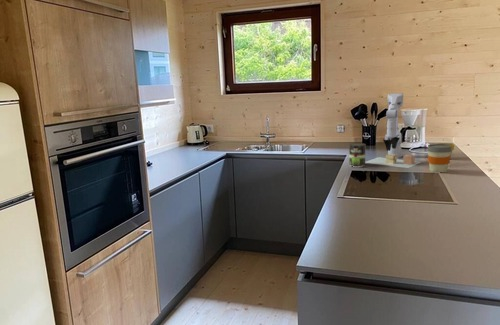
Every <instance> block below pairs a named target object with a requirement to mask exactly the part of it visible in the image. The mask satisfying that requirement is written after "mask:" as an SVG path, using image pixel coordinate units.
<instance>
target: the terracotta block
mask: <svg viewBox="0 0 500 325" xmlns="http://www.w3.org/2000/svg"><path fill="white" fill-rule="evenodd" d="M402 158H403V159H402V160H403V164H413V163H414V162H415V161H416V160H415V155H414V154H406V155H402Z"/></svg>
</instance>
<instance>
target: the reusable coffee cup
mask: <svg viewBox="0 0 500 325" xmlns="http://www.w3.org/2000/svg"><path fill="white" fill-rule="evenodd" d="M451 151H452V150H451V146H450V145H446V144H439V143H435V144H434V143H431V144H428V146H427V162H428V165H429V171H431V172H432V173H435V172H445V173H447V171H448V168H449V164H450V161H451V156H452V155H451V156H450V153H451ZM452 152H453V151H452Z"/></svg>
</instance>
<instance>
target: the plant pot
mask: <svg viewBox="0 0 500 325" xmlns="http://www.w3.org/2000/svg"><path fill="white" fill-rule="evenodd" d="M438 144H446V145H450V146H451V150H452V151H451V153H450V156H452V153H453V151H454V149H455V144H454V143H449V142H444V143H443V142H442V143H441V142H439V143H438Z"/></svg>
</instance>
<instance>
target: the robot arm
mask: <svg viewBox="0 0 500 325" xmlns="http://www.w3.org/2000/svg"><path fill="white" fill-rule="evenodd" d="M387 105H388V109H387V110H386V113H385V114H386V134H385V135H384V139H383V140H382V141H383V143H384V146H385V149H386V151H387V155H388V154H393V155H397V159H399V158H401V157H402V158H403V155H402V146H401V145H402V142H403V139H402V138H403V137H402V132H400V131H399V111H400V108H401V107H403V105H404V93H388V94H387Z"/></svg>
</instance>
